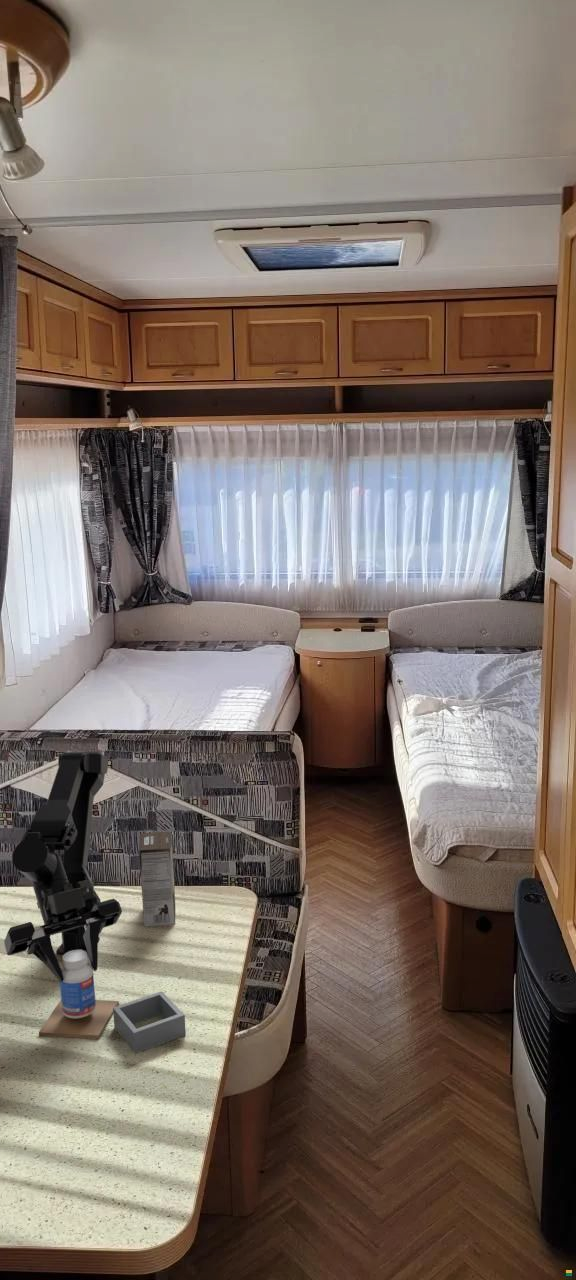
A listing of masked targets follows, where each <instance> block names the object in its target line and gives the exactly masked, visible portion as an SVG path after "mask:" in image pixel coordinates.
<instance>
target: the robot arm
mask: <svg viewBox="0 0 576 1280" xmlns="http://www.w3.org/2000/svg"><path fill="white" fill-rule="evenodd" d="M57 761H58V768H57V770H56V774H55V777H54V780H53V782H52V785H51V790H50V792H49V795H48V798H47V801H46V804H44V805H43V806H41V807H40V808H38V809H37V810H36V811H35V813H34V816H33V817H32V820H31V821H30V823H28V826H27V827H26V829H25V832H24V834H23V836H22V838H21V840H20V842H19V843H18V844H17V846H16V847H15V848H14V851H12V855H11V856H12V857H11V860H12V864H13V865H14V867H15V869H17V870H18V871H19V872H20V873H21V874H22V875H23V876H24V877H26V879H28V880H29V881H30V882H31V885H32V888H33V892H34V895H35V898H36V904H37V905H36V906H37V908H38V909H39V912H40V914H41V918H42V921H43V924H42V925H39V926H36V927H35V926H34V924H33V922H31V921H28V922H25V923H21V924H18V925H15V926H11V927H9V929H8V930H7V933H6V936H5V939H4V948H5V952H6V955H7V956H12V955H15V954H20V953H22V952H26V953H27V955H30V956H31V955H34V956H35V957H36V958H37V959H38V960H40V961H41V962H42V963H43V964H44V965H45V966H46V968H48V969H49V971H50V972H51V973H52V974H53V975H54V976H55V978H57V980H58V982H59V983H60V982H62V981H63V980H64V979H63V975H62V971H61V969H62V967H61V965H60V963H59V960H58V959H57V956H56V955H63V954H65V953H67V952H69V951H72V950H84V951H86V952H87V956H88V961H89V964H90V965H91V966H92V968H93V972H97V970H98V961H99V960H98V958H99V955H98V954H99V953H98V952H99V951H98V950H99V941H100V939H101V938H100V934H101V933H102V931H103V929H105V928H106V927H111V926H113V925H115V924H116V923H117V922H118V920H119V918H120V916H121V915H122V913H123V910H122V907H121V904H120V902H119V901H118V900H117V899H115V898H111V899H108V900H103V901H101V898H100V896H99V895H98V893H97V892H96V890H95V888H94V886H95V884H94V882H93V880H92V878H91V876H90V874H89V872H88V859H89V850H90V840H91V830H92V821H93V820H92V817H93V809H94V800H95V799H94V798H95V796H96V794H98V792H99V791H100V790H101V789H102V787H103V785H104V782H105V775H107V773H108V769H109V761H108V757H107V755H104V754H103V752H102V751H101V750H81V751H80V750H79V751H77V750H74V751H72V750H71V751H64V752H63V753H60V754H59V756H58V760H57ZM56 851H63V857H61V856H60V855H59V854H58V853H56ZM57 934H61V944H60V945H59V947H58V948H57V949H56V951H54V948H53V944H52V939H51V936H53V935H57Z"/></svg>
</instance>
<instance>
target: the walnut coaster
mask: <svg viewBox="0 0 576 1280" xmlns="http://www.w3.org/2000/svg"><path fill="white" fill-rule="evenodd" d="M95 1001H96V1007H95V1010H94V1011H93V1012H92V1013H91V1014H90V1015H88V1016H86V1017H83V1018H77V1019H74V1018H69V1017H66V1016H65V1015H64V1014H63V1011H62V1001H61V999H60V1001H59V1002H58V1003H57V1005H56V1006H55V1008H54V1010H52V1013H51V1014H50V1015H49V1016H48V1018H47V1020H46V1021H45V1022H44V1024H43V1025H42V1027H41V1028H40V1029H39V1031H38V1036H39V1037H40V1036H41V1037H53V1038H54V1037H57V1038H74V1039H75V1038H77V1039H89V1040H90V1039H91V1040H92V1039H95V1040H99V1039H100V1038H101V1037H102V1035H103V1033H104V1032H105V1030H106V1027H108V1024H109V1022H110V1020H111V1019H112V1017H113V1016H114V1015H113V1007H116V1006H119V1005H120V1001H119V1000H103V999H95Z"/></svg>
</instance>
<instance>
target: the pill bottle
mask: <svg viewBox="0 0 576 1280" xmlns="http://www.w3.org/2000/svg"><path fill="white" fill-rule="evenodd" d="M61 959H62V966H63V967H61V971H62V975H63V979H64V980H63V981H62V982H60V981H59V986H60V989H59V990H60V997H61V998H60V1000H61V1001H62V1011H63V1014H64V1015H65V1016H66V1017H69V1018H74V1019H77V1018H83V1017H86V1016H88V1015H90V1014H91V1013H92V1012H93V1011H94V1010H95V1007H96V1001H95V1000H96V991H95V980H94V978H95V977H94V970H93V968H92V966H91V963H90V962H88V961H89V956H88V955H87V952H86V951H84V950H72V951H69V952H67V953H65V954H64V955H63V954H62V958H61Z"/></svg>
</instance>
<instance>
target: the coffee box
mask: <svg viewBox="0 0 576 1280" xmlns="http://www.w3.org/2000/svg"><path fill="white" fill-rule="evenodd" d="M138 843H139V845H138V846H139V847H138V854H139V867H140V868H139V869H140V882H141V883H140V884H141V898H142V914H143V915H142V916H143V926H144V927H157V926H166V925H167V926H169V925H175V924H176V894H175V893H176V891H175V875H174V874H175V873H174V857H173V843H172V831H163V832H161V831H151V832H142V833H139V842H138Z"/></svg>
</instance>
